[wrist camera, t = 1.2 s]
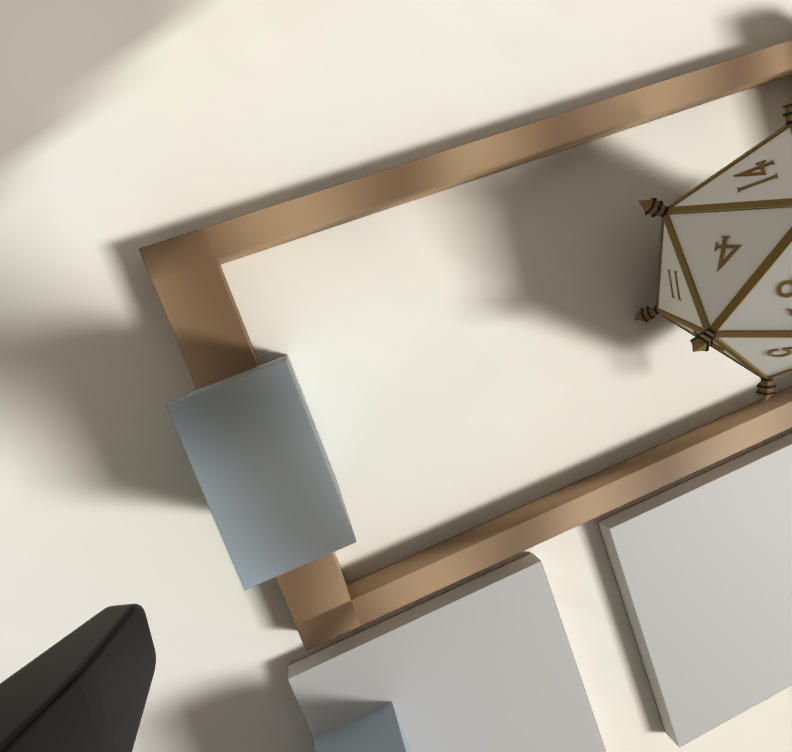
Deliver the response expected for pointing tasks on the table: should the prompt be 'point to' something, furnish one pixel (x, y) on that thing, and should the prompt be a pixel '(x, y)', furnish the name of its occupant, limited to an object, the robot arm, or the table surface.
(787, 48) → the wooden tray frame
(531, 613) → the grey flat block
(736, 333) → the game die
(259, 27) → the table surface
